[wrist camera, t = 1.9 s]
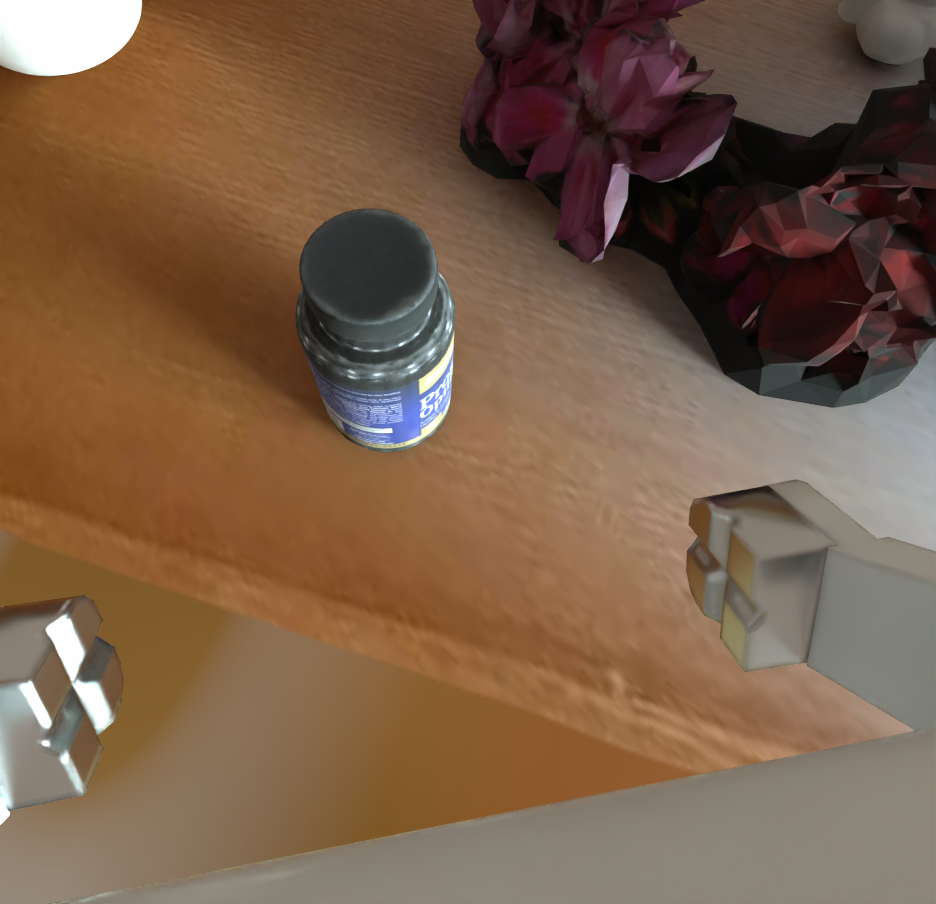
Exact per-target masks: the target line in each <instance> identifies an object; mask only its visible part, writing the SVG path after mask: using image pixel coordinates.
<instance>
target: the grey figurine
mask: <svg viewBox="0 0 936 904" xmlns="http://www.w3.org/2000/svg"><path fill="white" fill-rule="evenodd" d="M838 15H839V16H840V17H841V18H842V19H843V20H845V21H847V22H849V23H853V24H856V33H857V37H858V40H859V43H860V45H861V47H862V49H863V52H864V53H865V54H866V55H867V56H869V57H870V58H872V59H875V60H878V61H881V62H884V63H887V64H893V65H900V64H905V63H909V62H911V61H913V60H916V59H918V58H920V57H922V56H924V55H926V53H927V52H928V50H929V48H936V0H842V1H841V2H840V3H839V5H838Z"/></svg>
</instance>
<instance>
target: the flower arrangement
mask: <svg viewBox="0 0 936 904" xmlns="http://www.w3.org/2000/svg"><path fill="white" fill-rule="evenodd" d="M472 1H473V4H474V8H475V10H476V12H477V14H478V16H479V18H480V21H481V26H480V29H479V31H478V34H477V37H476V39H475V41H476V44H477V46H478V49H479V50H480V51H481V53H482V54H483V56H484V57H485V58H486V59H485V60H484V62H483V64H482V66H481V68H480V70H479V72H478V74H477V76H476V78H475V80H474V82H473V84H472V86H471V88H470V89H469V91H468V93H467V96H466V98H465V100H464V102H463V106H464V109H463V114H462V118H461V136H460V147H461V148H462V150H463V151H464V152H465V154H466V155H467V157H468V158H469V159H470V161H471V162H472V164H473V165H475V166H477V167H478V168H480V169H482V170H484V171H486V172H487V173H489V174H491V175H493V176H494V177H496V178H501V179H529V180H531V181H532V182H533V183H534V184H535V185H536V186H537V187H538V188H539V189H540V190H541V192H542V193H543V194H544V195H545V196H546V197H547V198H548V199H549V200H550V201H551V203H552V204H553V205H554V206H555V207H557V208H559V209H560V223H559V225H558V228H557V231H556V233H555V236H554V239H553V240H559V246H560V247H562V248H564V249H565V250H567V251H568V252H570V253H572V254H573V255H575V256H577V257H578V258H579V259H580V261H581V262H586V263H592V262H595V261H598V260H601V259H603V256H604V251H605V248H606V246H607V244H611V245H616V246H620V247H624V248H628V249H632V250H634V251H636V252H638V253H639V254H641V255H643V256H645V257H646V258H648V259H650V260H652V261H654V262H655V263H657V264H659V265H661V266H662V267H664V268H665V269H666V271H667V273H668V275H669V277H670V279H671V281H672V283H673V285H674V287H675V289H676V291H677V293H678V294H679V296H680V297H681V299H682V300H683V302H684V303H685V305H686V306H687V307H688V309H689V310H690V312H691V313H692V315H693V316H694V318H695V319H696V321H697V322H698V324H699V325H700V327H701V329H702V331H703V333H704V335H705V337H706V339H707V341H708V343H709V345H710V346H711V348H712V350H713V352H714V354H715V356H716V358H717V360H718V362H719V364H720V366H721V368H722V370H723V372H724V374H725V375H727V376H729V377H730V378H732V379H734V380H735V381H737V382H739V383H740V384H742V385H744V386H745V387H747V388H749V389H750V390H752V391H754V392H755V393H757V394H758V395H763V396H769V397H775V398H781V399H786V400H792V401H798V402H804V403H810V404H815V405H821V406H827V407H833V408H834V407H840V406H846V405H852V404H858V403H864V402H867V401H869V400H871V399H873V398H875V397H877V396H879V395H881V394H883V393H885V392H887V391H889V390H891V389H893V388H895V387H897V386H899V384H900V383H901V382H902V381H903V380H904V379H905V378H906V376H907V375H908V374H909V373H910V372H911V371H912V370H913V368H914V367H915V366H916V365H917V364H918V360H919V358H920V357H921V356H922V354H923V353H924V352H925V350H926V349H927V348H928V346H929V345H930V344H931V343H932V342H933V340H934V339H935V338H936V48H929V50H928V52H927V53H926V55H925V57H924V59H923V64H924V73H925V80H919V82H918V84H917V85H911V86H902V87H893V88H884V89H875V90H873V91H872V93H871V95H870V97H869V99H868V101H867V103H866V106H865V108H864V110H863V112H862V114H861V116H860V118H859V120H858V123H857V124H851V123H834V124H833V125H831V126H829V127H828V128H826V129H824V130H823V131H821V132H819V133H818V134H816V135H815V136H813V137H806V136H800V135H795V134H789V133H784V132H781V131H778V130H775V129H772V128H769V127H766V126H763V125H760V124H757V123H754V122H751V121H748V120H744V119H741V118H738V117H735V116H733V113H734V110H735V108H736V105H737V101H736V100H735V98H734V97H733V96H732V95H727V94H711V95H706V93H699V92H692V91H691V90H692V89H693V88H695V87H696V86H698V85H699V84H701V83H702V82H704V81H705V80H707V79H708V78H710V77H711V75H712V73H713V71H714V70H715V69H712V70H709V71H705V72H696V69H697V62H696V58H695V55H694V56H693V57H691V55H690V54H689V53H688V52H687V51H686V50H685V49H684V48H683V47H682V46H681V45H680V44H679V42H678V41H677V40H676V39H675V37H674V35H673V33H672V31H671V29H670V27H669V25H668V23H667V22H668V20H669V19H671V18H675V17H679V16H683V15H681V14H680V13H678V11H680V10H682V9H684V8H686V7H689V6H692V5H694V4H697V3H700V2H703V1H705V0H472ZM690 57H691V58H690Z"/></svg>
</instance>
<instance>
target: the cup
mask: <svg viewBox="0 0 936 904" xmlns="http://www.w3.org/2000/svg"><path fill="white" fill-rule="evenodd" d="M141 9H142V0H0V65H1V66H3V67H5V68H8V69H10V70H13V71H17V72H21V73H25V74H30V75H37V76H58V75H65V74H71V73H76V72H80V71H83V70H86V69H89V68H91V67H94V66H96V65H98V64H100V63H102V62H104V61H105V60H107V59H109V58H110V57H111V56H113V55H114V54H116V53H117V52H118V51H119V50H120V49H121V48H122V47H123V46H124V45H125V44H126V43H127V42H128V41H129V39H130V38H131V36H132V35H133V33H134V31H135V29H136V27H137V25H138V22H139V19H140V16H141Z"/></svg>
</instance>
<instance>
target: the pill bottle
mask: <svg viewBox="0 0 936 904" xmlns="http://www.w3.org/2000/svg"><path fill="white" fill-rule="evenodd" d="M299 266H300V279H301V283H302V289H301V291H300V293H299V297H298V301H297V307H296V328H297V332H298V336H299V340H300V342H301V345H302V347H303V350H304V352H305V355H306V357H307V360H308V363H309V365H310V368H311V370H312V373H313V376H314V378H315V381H316V384H317V386H318V389H319V391H320V394H321V397H322V399H323V402H324V404H325V407H326V409H327V412H328V415H329V417H330V418H331V420H332V422H333V423H334V425H335V426H336V427H337V429H338V430H339V431H340V432H341V433H342V435H343V436H344V437H345V438H347V439H348V440H350V441H352V442H354V443H355V444H357V445H360V446H361V447H364V448H367V449H369V450H374V451H380V452H395V451H401V450H406V449H409V448H411V447H413V446H416V445H418V444H419V443H421V442H423V441H424V440H426V439H427V438H428V437H430V436H431V435H433V434H434V433H435V432H436V431H437V430H438V428H439V427H440V425H441V424H442V422H443V421H444V419H445V417H446V414H447V412H448V409H449V406H450V400H451V384H452V368H453V345H454V328H455V307H454V301H453V297H452V294H451V291H450V289H449V287H448V284H447V282H446V281H445V280H444V278H443V276H442V275H441V274H440V273H439V272H438V264H437V258H436V253H435V250H434V248H433V246H432V244H431V241H430V240H429V238H428V237H427V236H426V234H425V233H424V232H423V230H422V229H421V228H419V227H418V226H416V224H415V223H414V222H412V221H410V220H409V219H408V218H405V217H404V216H402V215H399V214H398V213H394V212H391V211H386V210H381V209H358V210H352V211H349V212H345V213H342V214H339V215H337V216H335V217H333V218H331V219H329V220H328V221H326V222H324V223H323V224H322V225H321V226H320V227H319V228H317V229H316V231H315V232H313V234H312V235H311V236H310V238H309V240H308V241H307V243H306V244H305V246H304V248H303V251H302V254H301V258H300V264H299Z"/></svg>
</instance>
